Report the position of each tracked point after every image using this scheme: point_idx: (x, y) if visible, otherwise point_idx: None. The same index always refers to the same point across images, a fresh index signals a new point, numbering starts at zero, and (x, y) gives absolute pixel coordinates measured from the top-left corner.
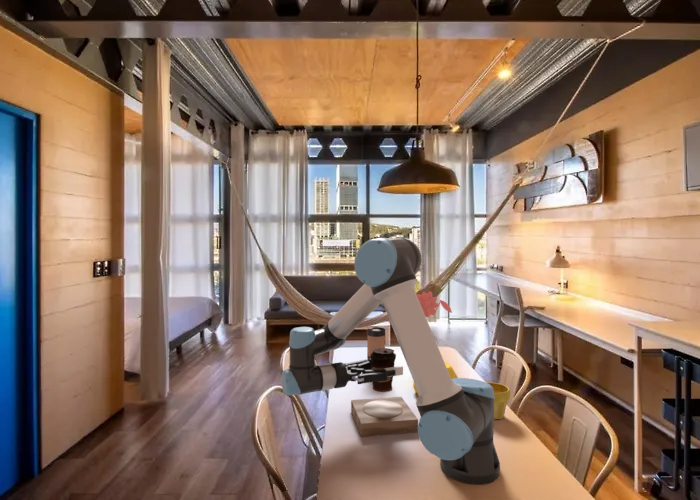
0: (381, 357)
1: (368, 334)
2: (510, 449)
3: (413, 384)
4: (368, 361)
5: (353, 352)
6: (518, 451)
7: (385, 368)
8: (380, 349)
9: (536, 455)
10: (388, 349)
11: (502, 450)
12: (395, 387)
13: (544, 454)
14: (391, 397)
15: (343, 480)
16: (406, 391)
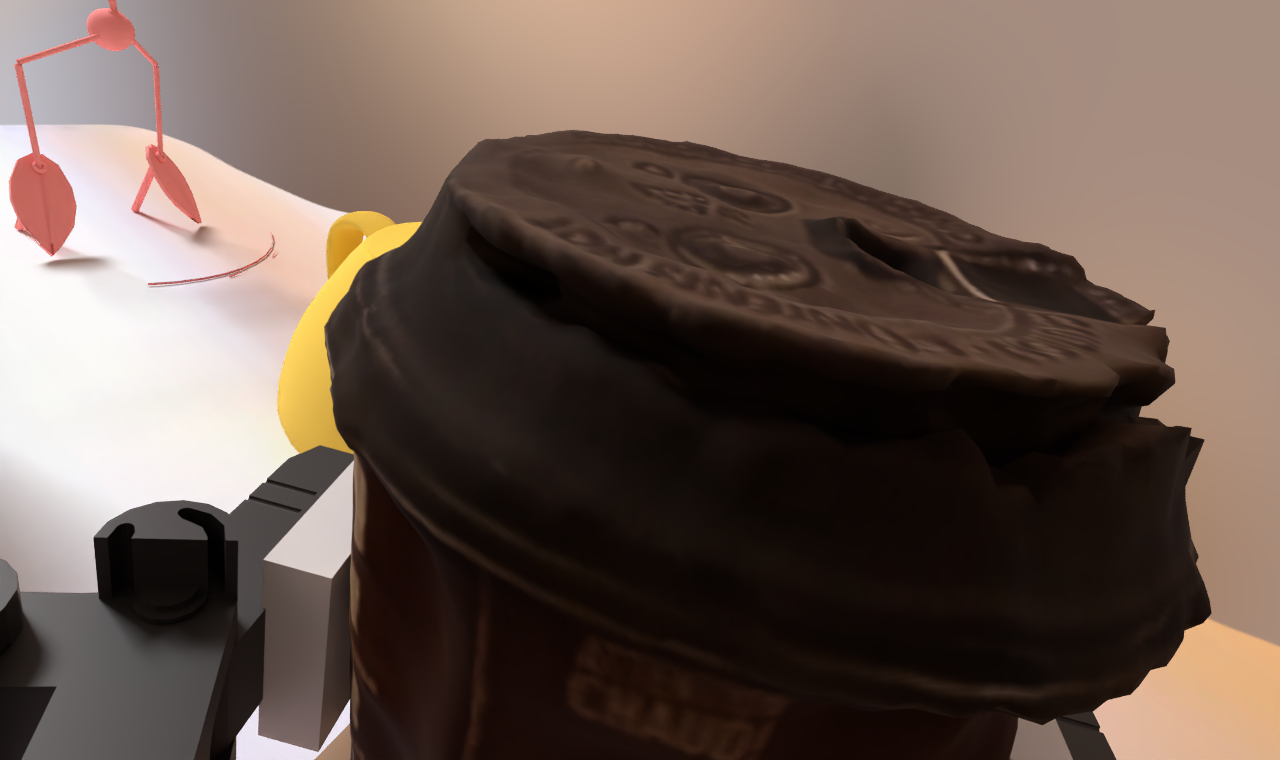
0: (1162, 528)
1: None
2: (1219, 712)
3: (309, 436)
4: (130, 635)
5: None
6: (1239, 702)
7: (1031, 750)
8: (623, 179)
9: (1275, 678)
10: (715, 165)
11: (1236, 751)
12: (101, 490)
13: (1258, 648)
14: (339, 741)
15: None
16: (238, 499)
